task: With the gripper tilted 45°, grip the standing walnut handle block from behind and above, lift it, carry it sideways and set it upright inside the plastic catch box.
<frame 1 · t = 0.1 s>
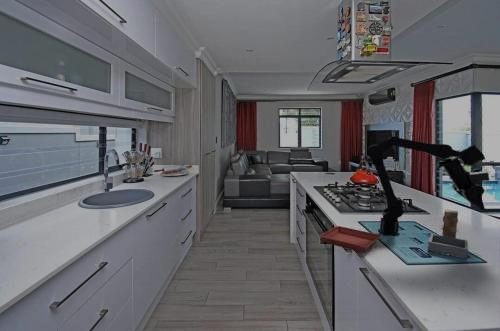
hand: (479, 207, 113), 15 cm above the worktop, tool tilted 35°, fingers open, 9 cm apart
catch box: (447, 250, 108), on the worktop
handle block: (448, 240, 119), on the worktop
onion: (449, 227, 136), on the worktop
plant saucer: (350, 243, 114), on the worktop
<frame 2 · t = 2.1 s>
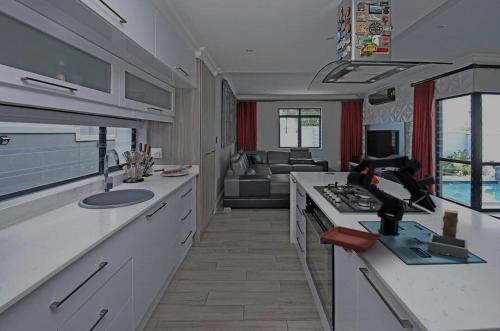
hand: (435, 209, 121), 12 cm above the worktop, tool tilted 45°, fingers open, 9 cm apart
nothing on the worktop moved.
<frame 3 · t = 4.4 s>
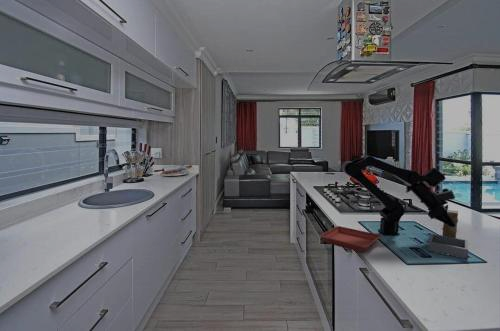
hand: (454, 225, 117), 7 cm above the worktop, tool tilted 45°, fingers closed on handle block, 4 cm apart
handle block: (448, 240, 119), on the worktop, touching gripper
everything else where it was.
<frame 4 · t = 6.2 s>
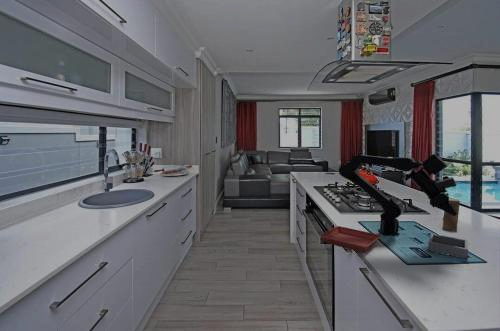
hand: (455, 213, 112), 12 cm above the worktop, tool tilted 45°, fingers closed on handle block, 4 cm apart
handle block: (449, 229, 114), point 6 cm above the worktop, touching gripper
everything else where it was.
when the fingers open (8 cm above the worktop, at t = 8.1 s): handle block stays where it is, resting on catch box.
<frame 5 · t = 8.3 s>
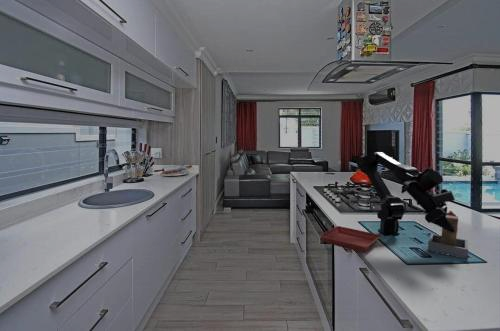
hand: (453, 229, 106), 8 cm above the worktop, tool tilted 45°, fingers open, 6 cm apart
handle block: (447, 248, 108), point 1 cm above the worktop, touching catch box
everything else where it was.
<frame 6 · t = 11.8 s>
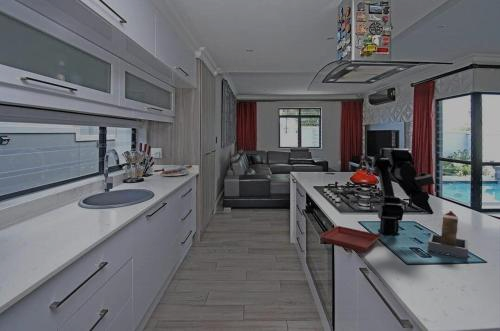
hand: (429, 210, 114), 13 cm above the worktop, tool tilted 40°, fingers open, 9 cm apart
nothing on the worktop moved.
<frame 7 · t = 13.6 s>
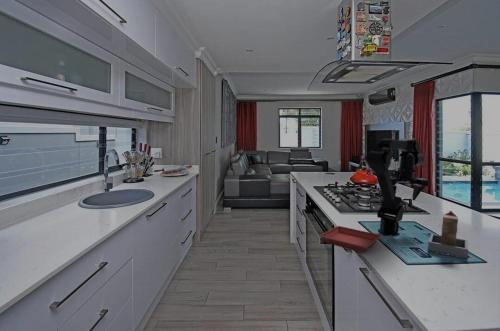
hand: (403, 200, 133), 13 cm above the worktop, tool pointing down, fingers open, 9 cm apart
nothing on the worktop moved.
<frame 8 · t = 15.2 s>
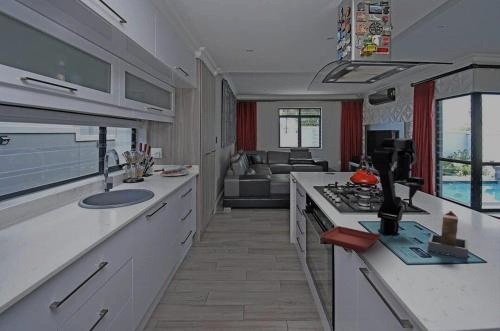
hand: (400, 199, 134), 13 cm above the worktop, tool pointing down, fingers open, 9 cm apart
nothing on the worktop moved.
at the end: handle block inside the target area on the catch box (0.0 cm from its centre), point 0.6 cm above the catch box's base; handle block tilted 0°; the gripper is holding nothing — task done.
